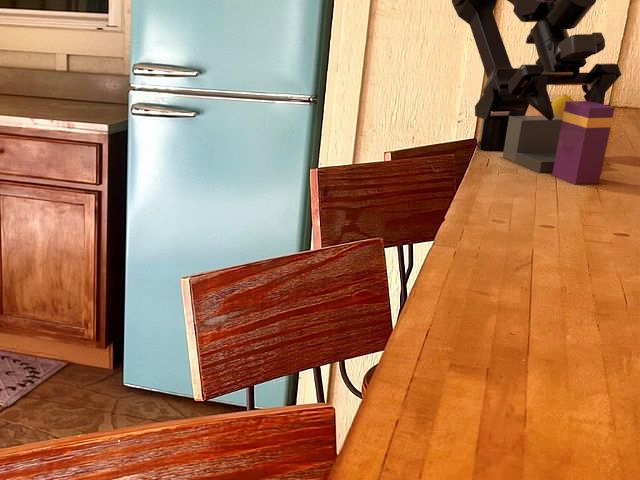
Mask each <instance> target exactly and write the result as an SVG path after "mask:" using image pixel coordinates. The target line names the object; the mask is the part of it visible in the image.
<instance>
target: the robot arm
mask: <svg viewBox="0 0 640 480" xmlns="http://www.w3.org/2000/svg"><path fill="white" fill-rule="evenodd" d="M506 1H507V2H509V3H510V4H511V5H512V6H513V9H512V12H513V14H514V15H515V16H516V17H517V19H518V20H519V21H520V22H522V23H535V24H534V26H533V27H532V28H531V29H530V31H529V34H528V35H527V37H526V40H525V44H527V45H534V46H535V50H536V54H537V56H538V58H537V60H536V61H535V62H534V63H535V64H534V63H533V64H521V65H520V66H519V67H513V66H512V64H511V61H510V58H509V55H508V52H507V49H506V47H505V43H504V40H503V37H502V34H501V31H500V29H499V25H498V23H497V19H496V18H495V13H494V11H495V9H496V6H497V5H498V4H497V3H498V0H451V4H452V6H453V8H454V9H453V10H454V11H455V13H456V15H457V16H458V18H460V19H461V20H462V21H464V22H465V23H466V24H468V25H469V27H470V31H471V33H472V36H473V38H474V43H475V46H476V48H477V49H476V50H477V52H478V54H479V58H480V60H481V63H482V66H483V69H484V72H485V76H486V82H485V85H484V88H483V89H482V93H483V95H482V96H481V97H480V99H479V100H478V101H477V103H476V104H475V105H474V116H475V117H477V118H480V119H481V121H480V129H479V135H478V141H476V143H475V144H476V146H477V147H478V148H479V150H486V151H504V146H505V139H506V133H507V127H508V121H509V116H526V114H527V111H528V109H529V107H532V108H534V109H535V110H536V111H537V112H538V113H539V114H541V116H544V117H546V118H547V119H548V120H549V121H550V120H552V119H553V118H554V113H553V108H552V105H551V104H552V102H551V99H550V96H549V92H548V86H556V87H557V86H581V89H582V92H583V93H585V94H584V95H583V98H584V101H591V102H595V103H599V104H603V105H605V98H606V93H607V92H608V91H609V89H610V88H611V87H613V86H614V84H615V83H616V81H617V80H618V79H619V78H621V76H622V72H621V68H620V67H619V64H618V63H613V62H611V63H609V62H608V63H595V64H594V66H593V67H592V68H591V69H590V70H589V72H580V69H581V68H584V67H585V66H586V64H587V63H588V62H587V59H588V58H589V57H591V56H594V55H596V54H599V53H600V52H601V51H603V50H605V48H606V39H605V37H604V34H603V33H602V32H601V31H600V32H592V33H587V34H586V33H583V34H582V33H580V34H579V33H575V34H572V35H570V34H569V32H568V30H572V29H575V28H576V27H578V25H580V23H581V22H582V20H583V19H584V18H585V17H586V15H587V14H588V12H589V11H590V10H591V9H592V7H594V5H595V4H596V2H597V0H506Z"/></svg>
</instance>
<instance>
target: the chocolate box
mask: <svg viewBox="0 0 640 480" xmlns="http://www.w3.org/2000/svg"><path fill="white" fill-rule="evenodd" d="M614 113H615V106H610V105H608V104H604V105H603V104H599V103H595V102H591V101H586V100H573V101H566V103H565V108H564V112H563V117H562V125H561V130H560V135H559V141H558V146H557V151H556V157H555V162H554V168H553V172H551V175H552V176H553V177H556V178H558V179H561V180H563V181H565V182H569V183H570V184H573V185H598V184H600V181H601V176H602V170H603V166H604V161H605V156H606V151H607V146H608V142H609V137H610V134H611V133H610V132H611V128H612V126H613V125H612V124H613V119H614Z"/></svg>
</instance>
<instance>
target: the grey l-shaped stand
mask: <svg viewBox="0 0 640 480" xmlns="http://www.w3.org/2000/svg"><path fill="white" fill-rule="evenodd" d="M561 125H562V117H561V116H558V115H554V118H553V119H552V120H550V121H549V120H548V119H547V118H546V117H544V116H543V115H525V116H509V121H508V127H507V133H506V139H505V146H504V150H503V153H502V158H503V159H506V160H508V161H510V162H513V163H514V164H518V165H520V166H522V167H524V168H527V169H530V170H532V171H534V172H537V173H540V174H541V173H542V174H543V173H544V174H545V173H553V168H554V162H555V157H556V151H557V146H558V141H559V135H560V130H561Z"/></svg>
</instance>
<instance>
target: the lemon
mask: <svg viewBox="0 0 640 480" xmlns="http://www.w3.org/2000/svg"><path fill="white" fill-rule="evenodd" d="M566 101H574V99H573V98H571V97H570V96H569V95H568V94H562V95H560V96H558V97H556V98H554V100H553V101H552V102H551V105H552V108H553V113H554V115H558V116H561V117H563V112H564V108H565V103H566Z"/></svg>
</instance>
